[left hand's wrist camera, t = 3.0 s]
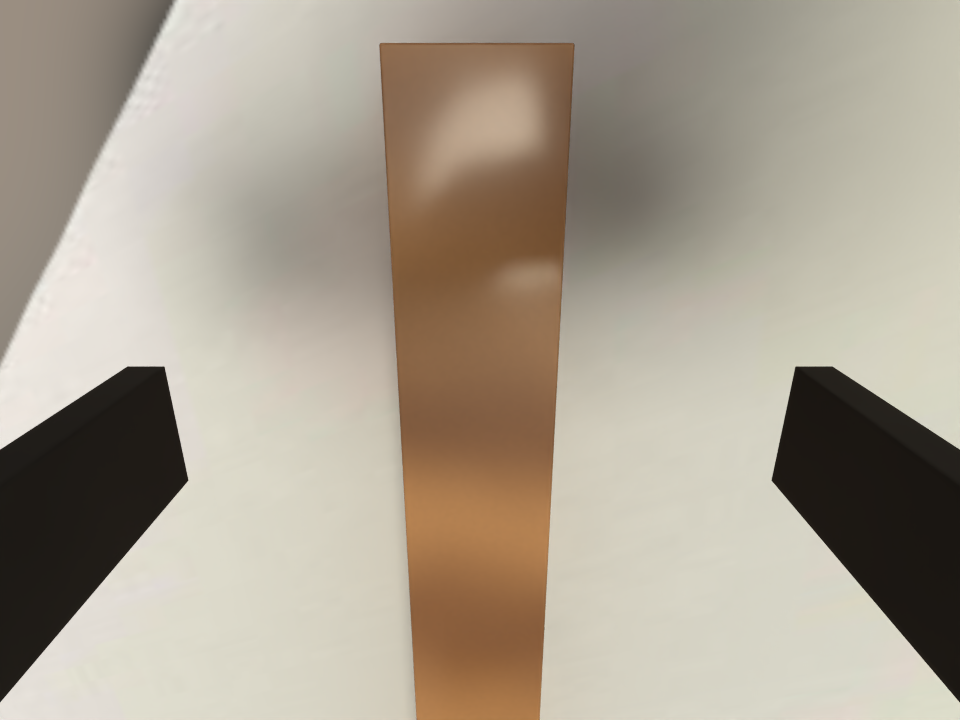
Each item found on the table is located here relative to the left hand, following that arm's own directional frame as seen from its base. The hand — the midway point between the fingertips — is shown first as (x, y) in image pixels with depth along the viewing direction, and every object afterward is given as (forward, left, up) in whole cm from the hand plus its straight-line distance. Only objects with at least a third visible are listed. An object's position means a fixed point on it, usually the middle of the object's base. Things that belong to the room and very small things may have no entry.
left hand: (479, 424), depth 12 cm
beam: (+18, +13, -14) cm, 26 cm away
